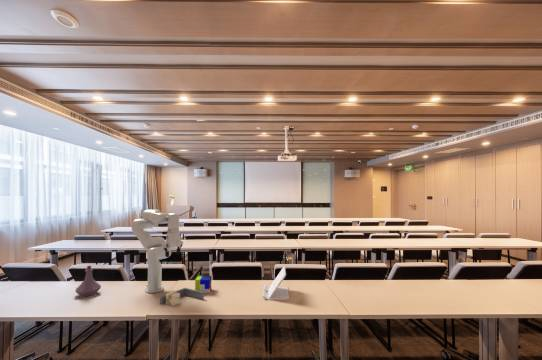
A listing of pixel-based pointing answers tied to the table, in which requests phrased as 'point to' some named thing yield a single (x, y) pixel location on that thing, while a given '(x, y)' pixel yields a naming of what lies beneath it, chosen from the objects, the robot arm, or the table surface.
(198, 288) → the puzzle toy
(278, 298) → the tablet stand
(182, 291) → the arena
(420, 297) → the table surface
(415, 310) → the table surface
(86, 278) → the flask
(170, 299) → the birch block
